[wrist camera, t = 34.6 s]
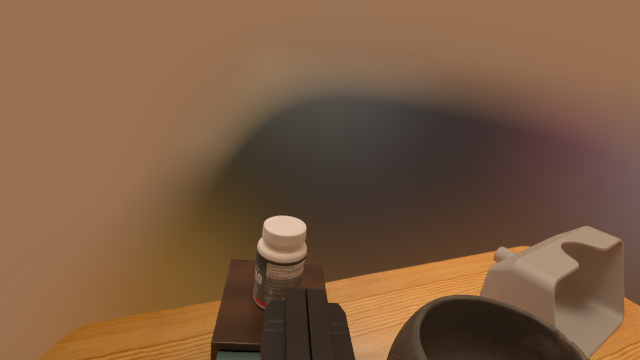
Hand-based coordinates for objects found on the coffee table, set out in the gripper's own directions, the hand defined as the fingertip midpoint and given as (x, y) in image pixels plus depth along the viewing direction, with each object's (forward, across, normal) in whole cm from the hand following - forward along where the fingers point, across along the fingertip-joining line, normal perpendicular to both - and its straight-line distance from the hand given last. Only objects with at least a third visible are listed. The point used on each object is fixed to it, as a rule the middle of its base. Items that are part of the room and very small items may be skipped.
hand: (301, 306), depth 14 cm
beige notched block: (+31, -40, +25) cm, 56 cm away
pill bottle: (+20, 0, +16) cm, 25 cm away
